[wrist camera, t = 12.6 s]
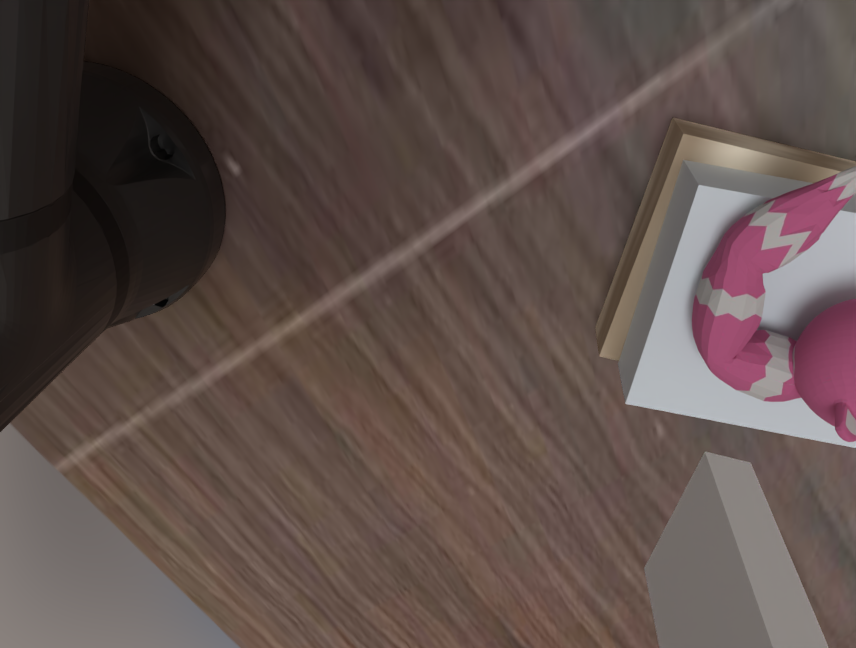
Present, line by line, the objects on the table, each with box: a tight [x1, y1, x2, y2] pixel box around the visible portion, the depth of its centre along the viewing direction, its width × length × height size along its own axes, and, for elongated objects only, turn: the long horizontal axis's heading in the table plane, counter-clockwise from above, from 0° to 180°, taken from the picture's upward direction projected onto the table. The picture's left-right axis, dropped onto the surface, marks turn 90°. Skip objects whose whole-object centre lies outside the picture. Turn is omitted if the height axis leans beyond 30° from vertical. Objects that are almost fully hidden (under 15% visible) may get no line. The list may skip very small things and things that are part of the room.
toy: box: [692, 166, 856, 442], centre depth 34 cm, size 11×9×10 cm
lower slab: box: [595, 118, 856, 361], centre depth 41 cm, size 13×13×4 cm
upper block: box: [618, 160, 856, 448], centre depth 38 cm, size 12×12×4 cm
